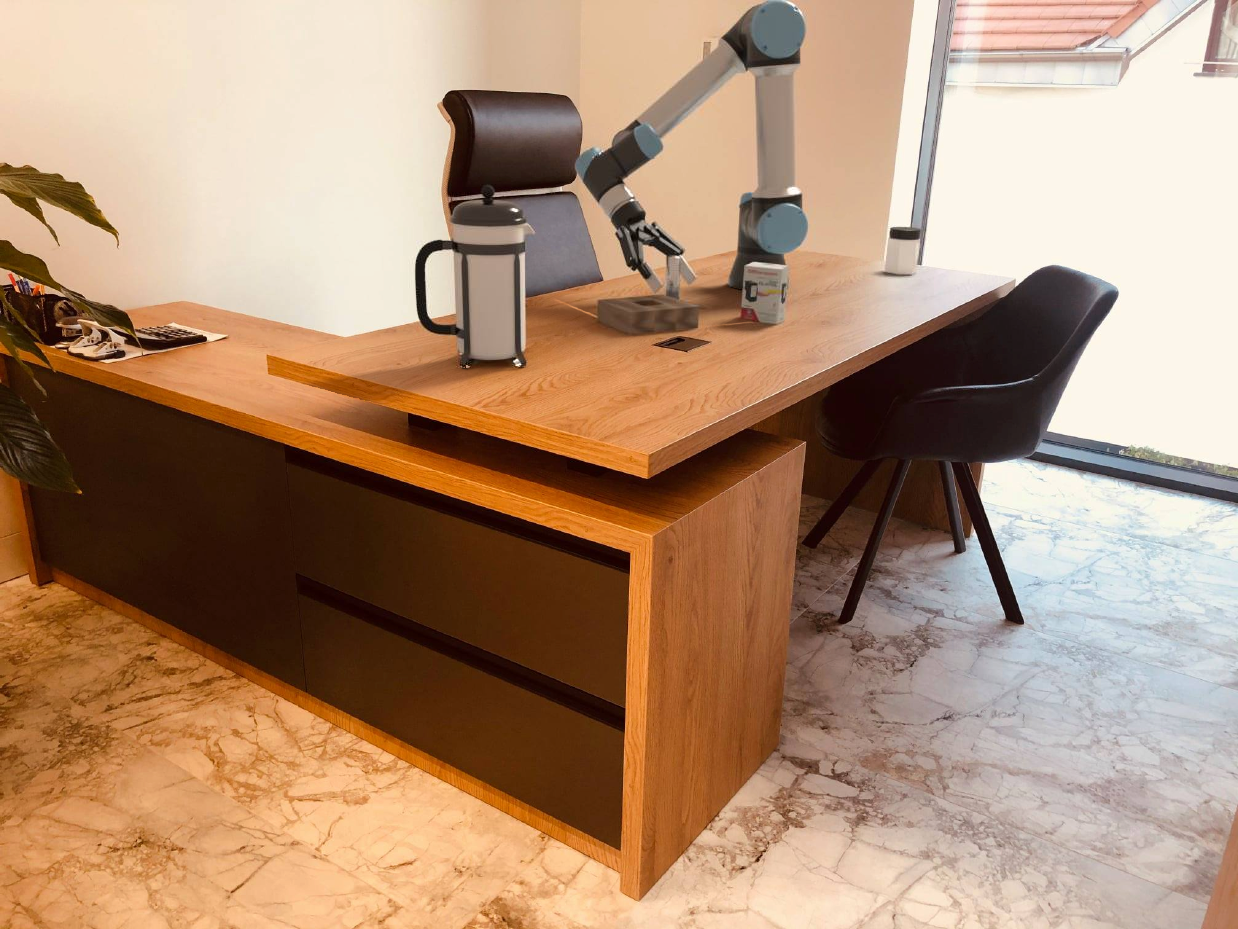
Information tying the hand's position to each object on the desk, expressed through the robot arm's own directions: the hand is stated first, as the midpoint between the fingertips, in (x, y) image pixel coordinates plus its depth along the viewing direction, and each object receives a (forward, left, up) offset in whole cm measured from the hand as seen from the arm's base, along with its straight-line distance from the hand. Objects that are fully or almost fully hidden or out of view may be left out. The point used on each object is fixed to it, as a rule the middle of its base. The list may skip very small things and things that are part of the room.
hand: (676, 285), depth 223 cm
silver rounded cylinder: (0, -1, -5) cm, 5 cm away
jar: (-86, -19, -5) cm, 88 cm away
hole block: (+14, +12, -5) cm, 19 cm away
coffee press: (+56, +27, -5) cm, 63 cm away
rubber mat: (0, -1, -5) cm, 5 cm away
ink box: (-11, +18, -5) cm, 21 cm away
